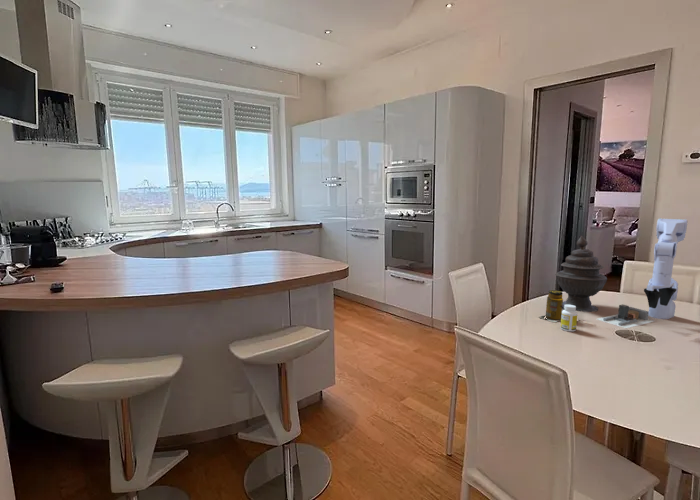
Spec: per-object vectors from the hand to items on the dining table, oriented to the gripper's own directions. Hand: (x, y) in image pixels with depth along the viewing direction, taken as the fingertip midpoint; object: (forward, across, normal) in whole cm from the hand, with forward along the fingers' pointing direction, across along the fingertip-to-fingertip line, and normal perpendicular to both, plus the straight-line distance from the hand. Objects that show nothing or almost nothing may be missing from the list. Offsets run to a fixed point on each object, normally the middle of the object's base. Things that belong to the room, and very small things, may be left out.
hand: (658, 306), depth 150 cm
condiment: (+10, +26, -26) cm, 38 cm away
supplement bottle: (+10, +32, -14) cm, 36 cm away
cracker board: (+9, +4, -9) cm, 14 cm away
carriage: (+8, +5, -9) cm, 13 cm away
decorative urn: (+10, +4, -30) cm, 32 cm away
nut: (+8, -1, -9) cm, 12 cm away
